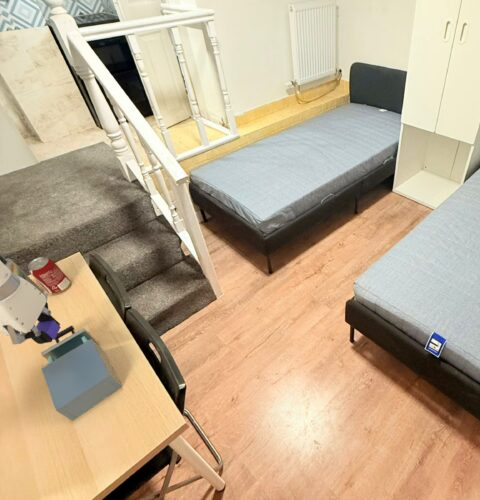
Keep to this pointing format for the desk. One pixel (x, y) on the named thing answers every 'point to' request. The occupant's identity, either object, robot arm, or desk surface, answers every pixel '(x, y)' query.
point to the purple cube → (49, 328)
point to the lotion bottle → (17, 271)
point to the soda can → (48, 275)
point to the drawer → (67, 343)
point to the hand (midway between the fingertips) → (49, 333)
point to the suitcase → (80, 380)
